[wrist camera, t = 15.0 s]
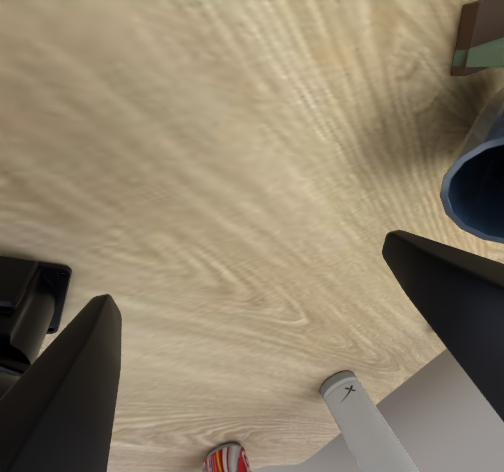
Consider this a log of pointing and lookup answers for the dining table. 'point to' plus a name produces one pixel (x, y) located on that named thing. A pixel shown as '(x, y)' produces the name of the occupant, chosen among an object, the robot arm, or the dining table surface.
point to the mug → (479, 176)
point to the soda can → (227, 459)
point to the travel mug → (364, 426)
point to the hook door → (480, 37)
